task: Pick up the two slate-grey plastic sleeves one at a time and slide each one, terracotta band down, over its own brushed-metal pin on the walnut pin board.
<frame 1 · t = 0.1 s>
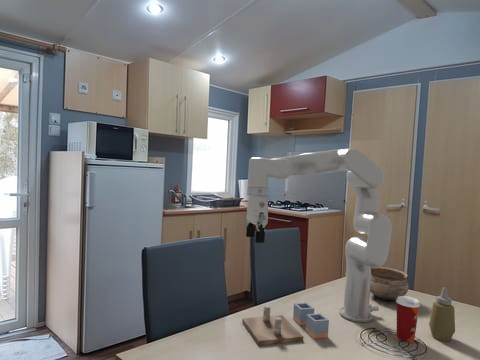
hand: (254, 239, 124), 31 cm above the table, tool pointing down, fingers open, 9 cm apart
squeeze bottle: (441, 338, 123), on the table
sleeve b: (316, 334, 121), on the table
paper cup: (405, 339, 121), on the table
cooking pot: (385, 298, 161), on the table
pin board: (271, 331, 121), on the table
sleeve a: (303, 321, 130), on the table
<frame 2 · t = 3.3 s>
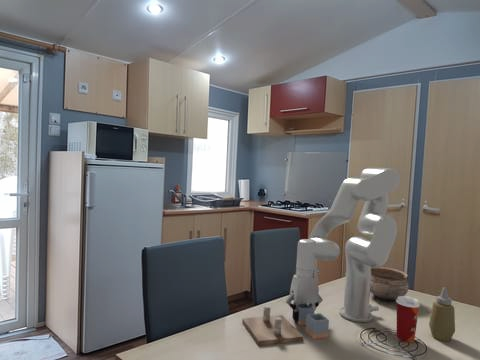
hand: (303, 319, 130), 1 cm above the table, tool pointing down, fingers closed on sleeve a, 5 cm apart
sleeve a: (302, 321, 130), on the table, touching gripper
everything else where it was.
when the fingers open (4 cm above the table, at t = 9.3 s): sleeve a drops 1 cm, resting on pin board.
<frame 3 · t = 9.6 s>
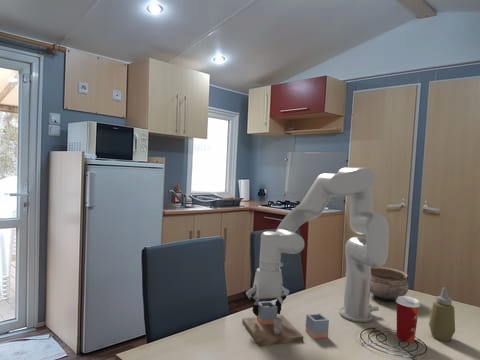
hand: (266, 313, 126), 4 cm above the table, tool pointing down, fingers open, 8 cm apart
sleeve a: (266, 320, 126), point 1 cm above the table, touching pin board
everything else where it was.
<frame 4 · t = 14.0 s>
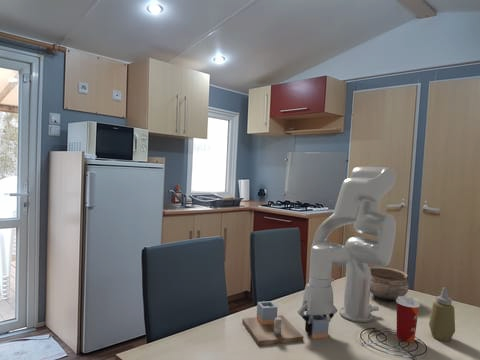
hand: (316, 332, 121), 1 cm above the table, tool pointing down, fingers closed on sleeve b, 5 cm apart
sleeve b: (316, 334, 121), on the table, touching gripper
everything else where it was.
when the fingers open (4 cm above the table, at t = 20.0 s): sleeve b drops 1 cm, resting on pin board.
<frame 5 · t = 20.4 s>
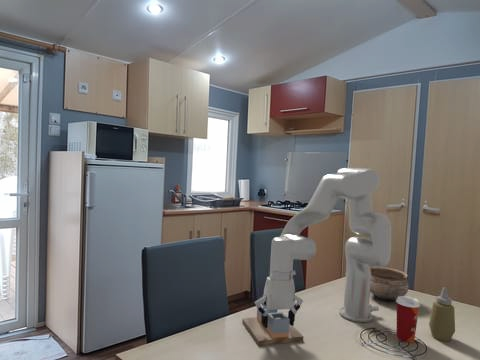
hand: (277, 325, 116), 4 cm above the table, tool pointing down, fingers open, 9 cm apart
sleeve b: (277, 333, 116), point 1 cm above the table, touching pin board
everything else where it was.
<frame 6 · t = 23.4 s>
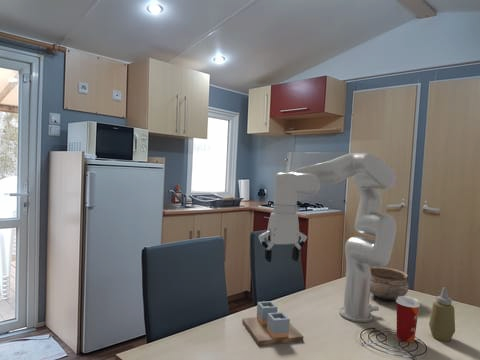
hand: (281, 260, 115), 26 cm above the table, tool pointing down, fingers open, 9 cm apart
nothing on the table moved.
at the end: sleeve a 0.0 cm from the target spot on the pin board, point 1.5 cm above the pin board's base; sleeve b 0.0 cm from the target spot on the pin board, point 1.5 cm above the pin board's base; sleeve b tilted 0° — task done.
